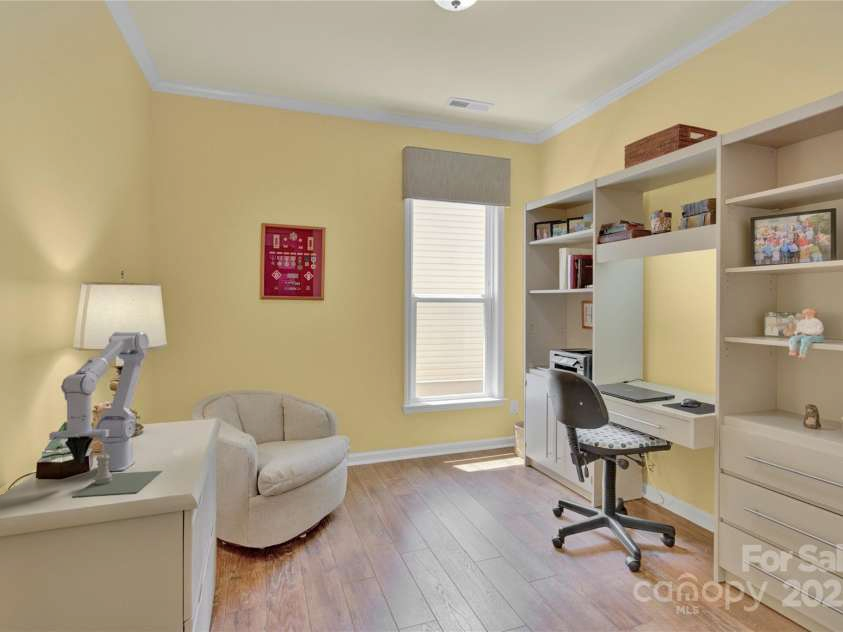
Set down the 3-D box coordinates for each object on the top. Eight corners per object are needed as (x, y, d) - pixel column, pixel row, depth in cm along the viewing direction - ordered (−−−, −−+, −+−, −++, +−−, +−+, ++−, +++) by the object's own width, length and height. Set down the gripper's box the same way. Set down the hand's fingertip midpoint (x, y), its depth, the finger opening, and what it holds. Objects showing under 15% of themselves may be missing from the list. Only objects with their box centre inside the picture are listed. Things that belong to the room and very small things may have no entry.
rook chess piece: (115, 479, 140) (115, 452, 139) (106, 485, 135) (105, 457, 135) (100, 479, 139) (99, 452, 139) (90, 485, 135) (89, 457, 135)
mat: (105, 475, 145) (105, 474, 145) (161, 471, 147) (161, 470, 147) (72, 497, 127) (72, 496, 127) (137, 493, 130) (137, 492, 130)
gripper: (42, 420, 131) (42, 469, 131) (100, 417, 133) (100, 466, 133) (57, 414, 138) (57, 461, 138) (112, 412, 140) (112, 458, 140)
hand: (79, 463), depth 136 cm, fingers closed
